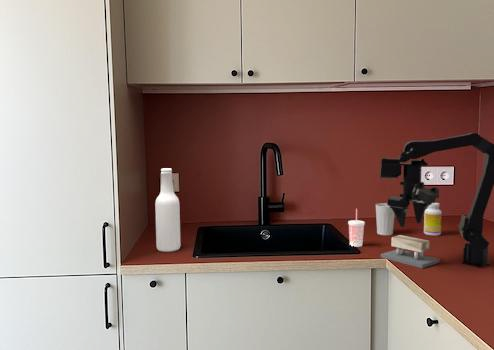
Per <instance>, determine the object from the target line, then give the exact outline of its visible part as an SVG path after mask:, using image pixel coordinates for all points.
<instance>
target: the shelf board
mask: <svg viewBox="0 0 494 350" xmlns="http://www.w3.org/2000/svg"><path fill="white" fill-rule="evenodd" d="M390 244H391V247H395V248H396V247H398V248H400V249H402V248H403V249H405V250H407V251H411V252H414V251H417V252H418V253H420V252H423V253H424V252H426V251H429V250H430V240H427V239H424V238H418V237H417V238H416V237H412V236H407V235H401V234H398V235H395V236H392V237H391V243H390Z"/></svg>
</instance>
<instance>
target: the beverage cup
mask: <svg viewBox="0 0 494 350" xmlns="http://www.w3.org/2000/svg"><path fill="white" fill-rule="evenodd" d="M365 224H366V221H363V220H359V219H358V208H355V219H353V220H352V219H351V220H348V221H347V225H348V236H349V246H350V245H351V247H353V246H354V247H358V248H359V247H362V246H363V241H364V228H365Z"/></svg>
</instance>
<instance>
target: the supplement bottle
mask: <svg viewBox="0 0 494 350" xmlns="http://www.w3.org/2000/svg"><path fill="white" fill-rule="evenodd" d="M442 213H443V212H442V210H441V209H440V203H439V202H435V203H432V204H431V205H429V206H428V207H427V208H426V209H425V212H424V214H423V217H424V218H423V234H424V235H426V236H431V237H432V236H435V237H436V236H439V235H441V234H442V216H443V215H442Z"/></svg>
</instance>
